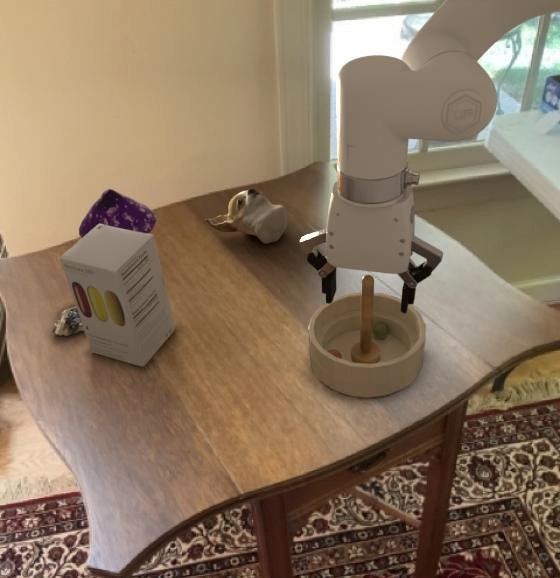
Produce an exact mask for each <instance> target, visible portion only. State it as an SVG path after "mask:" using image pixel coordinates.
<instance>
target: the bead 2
mask: <svg viewBox="0 0 560 578" xmlns="http://www.w3.org/2000/svg"><path fill="white" fill-rule="evenodd" d="M388 332H389V328H388V326H387V325H386V324H385V323H383V322H378V323H376V324H374V325H373V327H372V334H373V336H374V337H375V338H377V339H383V338H385V337H386V336H387V335H388Z"/></svg>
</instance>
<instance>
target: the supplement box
mask: <svg viewBox="0 0 560 578" xmlns="http://www.w3.org/2000/svg"><path fill="white" fill-rule="evenodd" d="M59 261H60V264H61V266H62V270H63V272H64V275H65V278H66V281H67V284H68V287H69V289H70V293H71V295H72V298H73V301H74V305H75V306H76V307H77V310H78V313H79V316H80V319H81V322H82V325H83V328H84V331H83V332H84V333H85V336H86V339H87V342H88V345H89V348H90V350H91V353H93V354H96V355H97V354H98V355H100V356H103V357H108V358H110V359H114V360H116V361H117V360H118V361H120V362H124V363H127V364H131V365H134V366H136V367H137V366H138V367H141V368H144V367H145V366H146V365H147V364H148V363H149V362H150V360H151V359H152V358H153V356H154V355H155V354H156V353H157V352H158V351H159V350H160V348H162V346H163V345H164V343H165V342H166V341H167V340H168V339H169V337H171V335H172V334H173V333H174V332H175V330H176V327H175V322H174V318H173V317H174V316H173V313H172V309H171V303H170V300H169V296H168V290H167V286H166V280H165V277H164V273H163V269H162V264H161V258H160V254H159V250H158V245H157V241H156V238H155V234H152V233H149V234H147V233H141V232H136V231H131V230H126V229H121V228H117V227H112V226H108V225H104V224H98V225H97V226H96V227H94V228H93V229H92V230H91V231H90V232H89V233H87V234H86V235H85V236H84V237H83V238H80V239H79V240H78V241H77V242H76V243H75V244H73V245H72V246H71V247H69V249H68V250H66V251H65V252H64V253H63V254H62V255H61V256H60V257H59Z"/></svg>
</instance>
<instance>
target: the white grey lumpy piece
mask: <svg viewBox="0 0 560 578" xmlns="http://www.w3.org/2000/svg"><path fill="white" fill-rule="evenodd" d="M59 318H60V320H59V319H57V318H56V320H57V323H56V322H55V323H53V325H54V327H53V328H52V332H51V333H53V334H54V335H56V336H59V337H62V336H63V335H64V337H68V336H70V335H72V334H74V335H75V334H77V333H78V332H85V331H84V328H83V325H82V322H81V319H80V316H79V313H78V310H77V307H76V305H75V306H72V307H71V306H70V307H69V308H67V309H65V310H63V311H61V315H60V316H59Z"/></svg>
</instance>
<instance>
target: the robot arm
mask: <svg viewBox="0 0 560 578" xmlns="http://www.w3.org/2000/svg"><path fill="white" fill-rule="evenodd" d="M559 12H560V0H444V1H443V2H442V3H441V4H440V5H439V7H438V8H437V9H436V10H435V11H434V12H433V14H432V15H431V16H430V17H429V18H428V20H426V22H425V23H424V24H423V25H422V27H421V28H420V29H419V30H418V31H417V33H416V34H415V35H414V37H413V38H412V39H411V41H410V42H409V43H408V45H407V47H406V49H405V50H404V53H403V55H402V57H401V58H398V57H394V56H391V55H384V54H383V55H382V54H380V55H379V54H373V55H365V56H360V57H357V58H354V59H351V60H349V61H348V62H346V63H345V64H344V65H343V66H342V67H341V68H340V70H339V71H338V74H337V77H336V156H337V157H336V175H337V176H336V177H337V179H336V180H337V181H335V182H334V183H333V186H332V190H331V194H330V199H329V204H328V210H327V211H328V212H327V221H326V222H327V223H326V227H325V228H323V229H320V230H316V231H314V232H311V233H308V234H306V235H304V236H302V237H301V238H300V240H299V242H298V247H299V248H300V250H301V252H302V253H303V256H305V257H306V262H307V263H308V264H309V265H310V266H311V267H313V268H314V269H315V271H317V275H318V277H320V278H321V293H322V294H325V303H328V304H330V303H332V301H333V299H334V298H335V295H336V293H337V287H338V286H337V268H338V269H345V270H355V271H361V272H371V273H381V274H390V275H391V274H392V275H398V277H399V278H400V279H401V280H402V281H403V285H402V288H401V312H402V313H406V312H407V308H408V304H411V305H412V306H413V305H414V304H415V300H416V291H417V286H418V284H419V283H421V282H423V281H424V280H426V279H427V278H429V277H431V275H432V273H433V272H434V271H435V270H436V268H437V267H438V266H439V265H440V264H441V262H442V261H443V257H444V252H443V251H442V250H441V249H439V248H437V247H436V246H434V245H433V244H430V243H428V242H426V241H425V240H423V239H421V238H419V237H418V236H416V235H415V229H416V228H415V225H416V223H415V222H416V221H415V220H416V219H415V218H416V217H415V215H416V213H415V212H416V211H415V198H414V192H413V187H412V186H419V184H420V178H421V177H420V176H421V172H416V171H414V170H410V167H409V161H408V153H409V142H410V141H409V140H421V141H431V142H442V143H443V142H446V143H447V142H449V143H450V142H459V141H464V140H465V141H466V140H467V139H471V138H473V137H475V136H477V135H479V134H480V133H481V132H483V131H484V130H485V128H487V127H488V126H489V124H490V123H491V121H492V120H493V118H494V116H495V114H496V111H497V107H498V93H497V89H496V85H495V83H494V81H493V79H492V78H491V76H490V75H489V73H488V72H487V71H486V70H485V68H484V67H483V66H482V65H481V64H480V63H479V62H478V61H479V60H480V59H481V58H482V57H483V56H484V55H485V54H486V53H487V52H488V51H489V50H490V49H491V48H492V47H493V46H494V45H496V43H498V41H499V40H501V38H503V37H504V36H506V35H507V34H508V33H509V32H511V31H512V30H514V29H515V28H517V27H518V26H520V25H522V24H524V23H526V22H528V21H530V20H532V19H535V18H537V17H540V16H545V15H549V14H554V13H559ZM322 244H325V255H324V254H323V253H322V252H321V251H320V250H319V249H317V248H316V246H319V245H322ZM414 253H415V254H417V255H418V256H420V257H422V258H424V259H425V261H423V262H422V263H421V264H419V265H418V266H417V264H416V263H415V262H414V261H413V260H412V256H413V254H414Z"/></svg>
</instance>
